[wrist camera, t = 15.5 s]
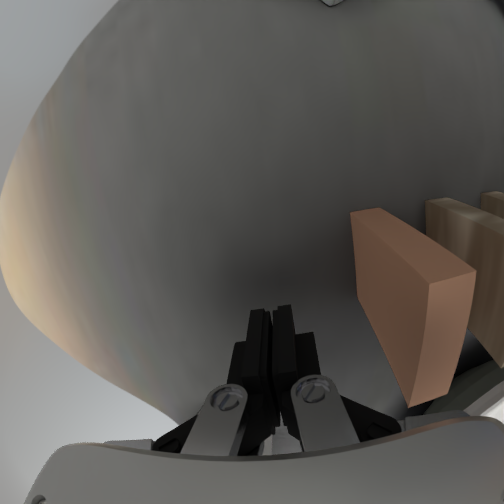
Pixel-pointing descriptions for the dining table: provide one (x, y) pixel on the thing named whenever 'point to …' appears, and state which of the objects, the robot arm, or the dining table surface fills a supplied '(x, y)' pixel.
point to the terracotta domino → (412, 301)
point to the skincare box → (332, 2)
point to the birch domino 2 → (493, 203)
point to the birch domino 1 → (475, 263)
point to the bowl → (475, 393)
